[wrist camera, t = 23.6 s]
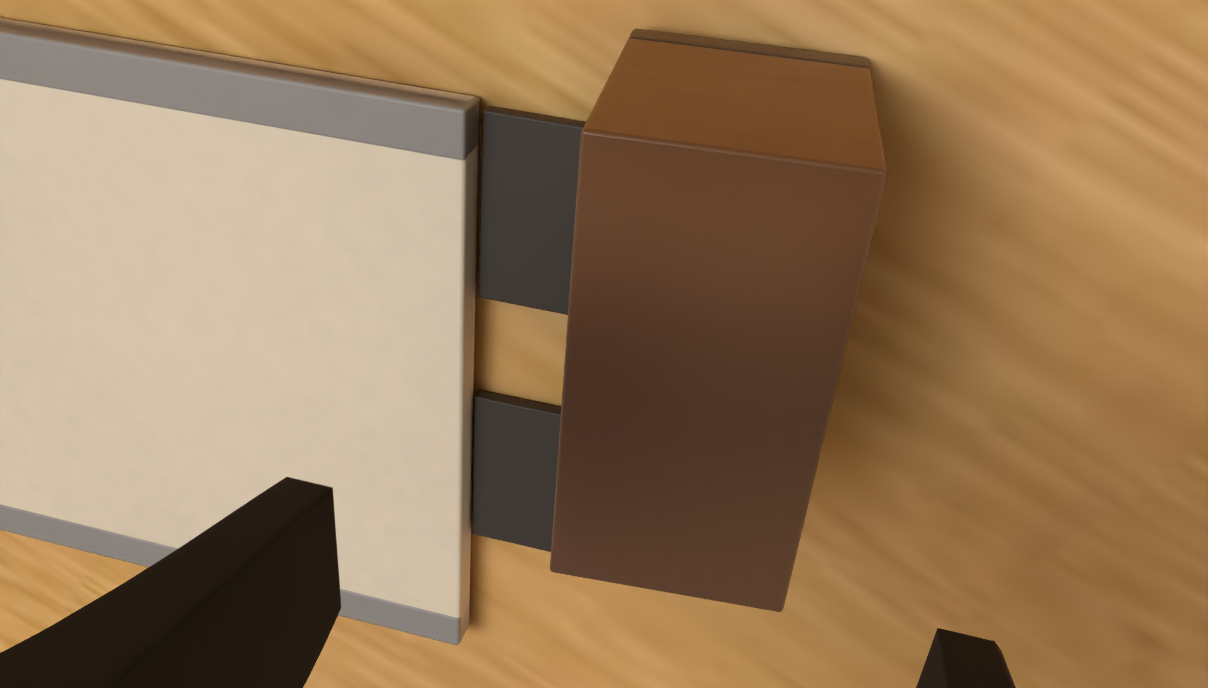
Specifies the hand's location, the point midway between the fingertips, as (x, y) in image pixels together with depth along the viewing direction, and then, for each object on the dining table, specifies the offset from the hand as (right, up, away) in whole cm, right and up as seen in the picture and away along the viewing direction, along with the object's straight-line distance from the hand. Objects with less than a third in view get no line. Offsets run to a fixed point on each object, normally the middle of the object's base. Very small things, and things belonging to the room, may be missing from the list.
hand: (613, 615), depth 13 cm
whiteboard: (-13, +4, +13) cm, 18 cm away
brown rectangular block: (+2, +5, +8) cm, 9 cm away
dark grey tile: (-1, +6, +8) cm, 10 cm away
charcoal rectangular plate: (-2, 0, +12) cm, 12 cm away
